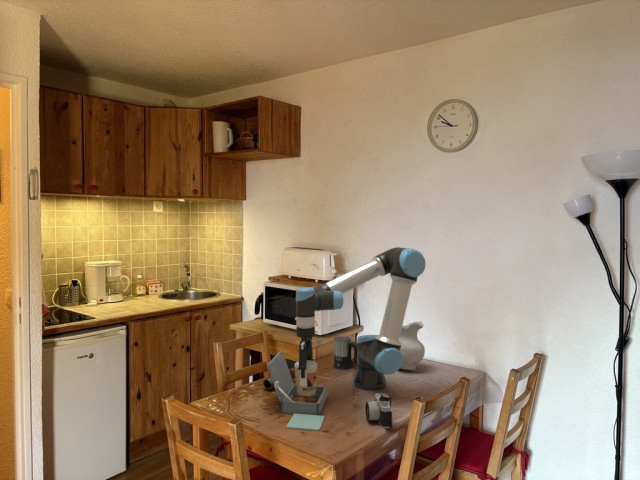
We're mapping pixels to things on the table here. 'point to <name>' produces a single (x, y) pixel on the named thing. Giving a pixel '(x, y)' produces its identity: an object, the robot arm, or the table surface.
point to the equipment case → (292, 389)
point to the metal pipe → (269, 383)
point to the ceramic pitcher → (411, 346)
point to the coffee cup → (311, 379)
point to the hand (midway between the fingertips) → (306, 381)
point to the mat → (306, 422)
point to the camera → (380, 410)
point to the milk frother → (344, 352)
